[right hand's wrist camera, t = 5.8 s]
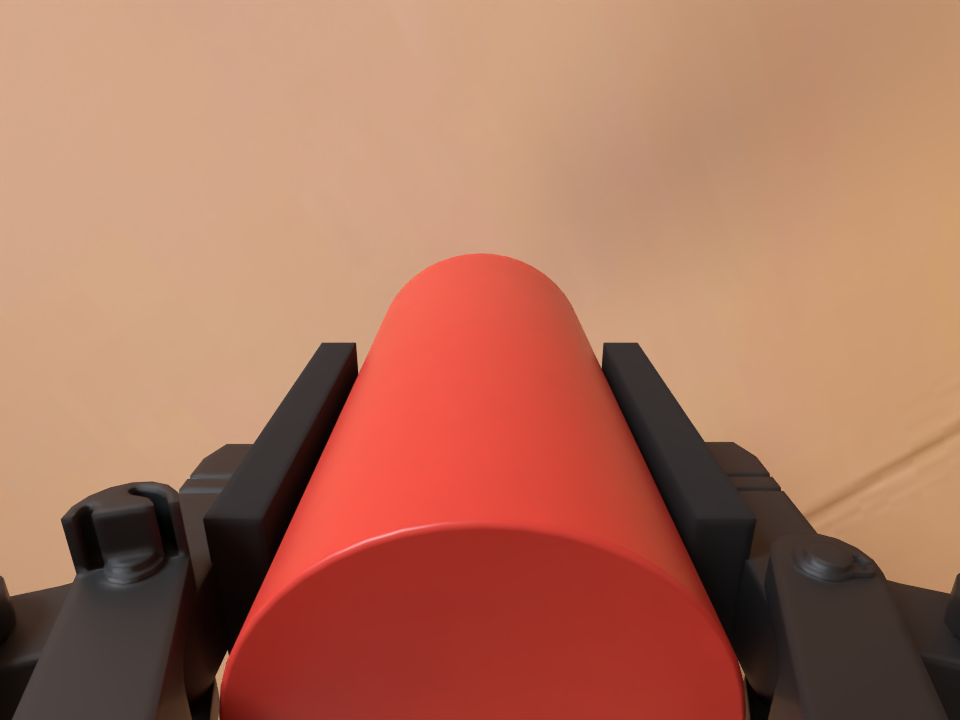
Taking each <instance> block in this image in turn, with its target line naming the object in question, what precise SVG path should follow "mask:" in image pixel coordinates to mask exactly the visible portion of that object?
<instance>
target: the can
mask: <svg viewBox="0 0 960 720" xmlns="http://www.w3.org/2000/svg"><path fill="white" fill-rule="evenodd" d="M219 718H220V720H745V718H746V702H745V688H744V682H743V678H742V674H741V670H740V666H739V662H738V659H737V657H736V654H735V652H734V650H733V648H732V646H731V644H730V642H729V639H728V637H727V635H726V633H725V631H724V629H723V627H722V624H721V622H720V620H719V618H718V616H717V614H716V612H715V610H714V607H713V605H712V603H711V601H710V599H709V597H708V595H707V593H706V590H705V588H704V586H703V584H702V582H701V580H700V578H699V575H698V573H697V571H696V569H695V567H694V565H693V563H692V561H691V558H690V556H689V554H688V552H687V550H686V548H685V546H684V544H683V541H682V539H681V537H680V535H679V533H678V531H677V529H676V527H675V524H674V522H673V520H672V518H671V516H670V514H669V512H668V509H667V507H666V505H665V503H664V501H663V499H662V497H661V495H660V492H659V490H658V488H657V486H656V484H655V482H654V480H653V478H652V475H651V473H650V471H649V469H648V467H647V465H646V463H645V461H644V458H643V456H642V454H641V452H640V450H639V448H638V446H637V443H636V441H635V439H634V437H633V435H632V433H631V431H630V429H629V426H628V424H627V422H626V420H625V418H624V416H623V414H622V412H621V409H620V407H619V405H618V403H617V401H616V399H615V397H614V395H613V392H612V390H611V388H610V386H609V384H608V382H607V380H606V377H605V375H604V373H603V371H602V369H601V367H600V365H599V363H598V360H597V358H596V356H595V354H594V352H593V350H592V348H591V346H590V343H589V341H588V339H587V337H586V335H585V333H584V331H583V328H582V326H581V324H580V322H579V320H578V318H577V316H576V314H575V311H574V309H573V307H572V305H571V304H570V302H569V300H568V299H567V297H566V296H565V294H564V293H563V292H562V291H561V290H560V288H559V287H558V286H557V285H556V284H555V283H554V282H553V281H552V280H550V279H549V278H548V277H547V276H546V275H545V274H543V273H542V272H540V271H539V270H537V269H535V268H534V267H532V266H530V265H528V264H526V263H524V262H522V261H519V260H516V259H513V258H509V257H505V256H500V255H495V254H468V255H462V256H457V257H452V258H450V259H447V260H444V261H441V262H438V263H436V264H434V265H432V266H430V267H428V268H426V269H425V270H424V271H422V272H421V273H419V274H418V275H416V276H415V277H414V278H413V279H412V280H410V281H409V282H408V283H407V284H406V285H405V286H404V287H403V289H402V290H401V291H400V292H399V293H398V294H397V296H396V297H395V299H394V301H393V302H392V304H391V305H390V307H389V309H388V312H387V314H386V316H385V318H384V320H383V322H382V325H381V327H380V329H379V331H378V333H377V335H376V338H375V340H374V342H373V344H372V346H371V349H370V351H369V353H368V355H367V357H366V359H365V362H364V364H363V366H362V368H361V370H360V372H359V375H358V377H357V379H356V381H355V383H354V385H353V388H352V390H351V392H350V394H349V396H348V399H347V401H346V403H345V405H344V407H343V409H342V412H341V414H340V416H339V418H338V420H337V422H336V425H335V427H334V429H333V431H332V433H331V436H330V438H329V440H328V442H327V444H326V446H325V449H324V451H323V453H322V455H321V457H320V459H319V462H318V464H317V466H316V468H315V470H314V472H313V475H312V477H311V479H310V481H309V483H308V486H307V488H306V490H305V492H304V494H303V496H302V499H301V501H300V503H299V505H298V507H297V509H296V512H295V514H294V516H293V518H292V520H291V522H290V525H289V527H288V529H287V531H286V533H285V536H284V538H283V540H282V542H281V544H280V546H279V549H278V551H277V553H276V555H275V557H274V559H273V562H272V564H271V566H270V568H269V570H268V572H267V575H266V577H265V579H264V581H263V583H262V586H261V588H260V590H259V592H258V594H257V596H256V599H255V601H254V603H253V605H252V607H251V609H250V612H249V614H248V616H247V618H246V620H245V623H244V625H243V627H242V629H241V631H240V633H239V636H238V638H237V640H236V642H235V644H234V647H233V649H232V651H231V653H230V656H229V658H228V660H227V663H226V667H225V671H224V675H223V679H222V683H221V689H220V707H219Z"/></svg>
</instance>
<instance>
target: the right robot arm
mask: <svg viewBox="0 0 960 720" xmlns="http://www.w3.org/2000/svg"><path fill="white" fill-rule="evenodd" d="M602 371H603V373H604V375H605V377H606V380H607V382H608V384H609V386H610V388H611V390H612V392H613V395H614V397H615V399H616V401H617V403H618V405H619V407H620V409H621V412H622V414H623V416H624V418H625V420H626V422H627V424H628V426H629V429H630V431H631V433H632V435H633V437H634V439H635V441H636V443H637V446H638V448H639V450H640V452H641V454H642V456H643V458H644V461H645V463H646V465H647V467H648V469H649V471H650V473H651V475H652V478H653V480H654V482H655V484H656V486H657V488H658V490H659V492H660V495H661V497H662V499H663V501H664V503H665V505H666V507H667V509H668V512H669V514H670V516H671V518H672V520H673V522H674V524H675V527H676V529H677V531H678V533H679V535H680V537H681V539H682V541H683V544H684V546H685V548H686V550H687V552H688V554H689V556H690V558H691V561H692V563H693V565H694V567H695V569H696V571H697V573H698V575H699V578H700V580H701V582H702V584H703V586H704V588H705V590H706V593H707V595H708V597H709V599H710V601H711V603H712V605H713V607H714V610H715V612H716V614H717V616H718V618H719V620H720V622H721V624H722V627H723V629H724V631H725V633H726V635H727V637H728V639H729V642H730V644H731V646H732V648H733V650H734V652H735V654H736V656H737V658H738V661H739V663H740V665H741V667H742V669H743V671H744V673H745V678H744V688H745V702H746V718H745V720H960V573H959V574H958V575H957V577H956V580H955V583H954V585H953V588H952V591H951V594H948V593H943V592H939V591H934V590H929V589H924V588H919V587H914V586H910V585H905V584H900V583H896V582H893V581H889V580H886V578H885V576H884V574H883V572H882V571H881V570H880V568H879V567H878V565H877V564H876V563H875V561H874V560H873V559H871V558H870V557H869V556H867V555H866V554H865V553H863V552H862V551H860V550H859V549H858V548H856V547H854V546H852V545H849V544H847V543H845V542H843V541H841V540H839V539H836V538H832V537H828V536H824V535H821V534H817V532H816V531H815V530H814V529H813V527H812V526H811V525H810V524H809V522H808V521H807V520H806V519H805V517H804V516H803V515H802V514H801V512H800V511H799V510H798V509H797V507H796V506H795V505H794V504H793V502H792V501H791V500H790V499H789V497H788V496H787V495H786V493H785V492H784V491H781V487H780V486H779V485H778V483H777V482H776V481H775V480H774V478H773V477H770V473H769V472H768V471H767V470H766V468H765V467H764V466H763V465H762V463H761V462H760V461H759V460H758V458H757V457H756V456H754V455H753V454H751V453H750V452H748V451H746V450H745V449H743V448H742V447H740V446H738V445H737V444H735V443H734V442H704V440H703V439H702V437H701V436H700V434H699V433H698V431H697V430H696V428H695V427H694V425H693V424H692V423H691V421H690V420H689V418H688V417H687V415H686V414H685V412H684V411H683V409H682V408H681V406H680V405H679V403H678V402H677V400H676V399H675V397H674V396H673V394H672V393H671V391H670V390H669V389H668V387H667V386H666V384H665V383H664V381H663V380H662V378H661V377H660V375H659V374H658V372H657V371H656V369H655V368H654V366H653V365H652V363H651V362H650V360H649V359H648V358H647V356H646V355H645V353H644V352H643V350H642V349H641V347H640V346H639V344H638V343H604V345H603V358H602ZM357 377H358V363H357V350H356V343H322V344H321V345H320V347H319V348H318V350H317V351H316V352H315V354H314V355H313V357H312V358H311V360H310V361H309V363H308V364H307V366H306V367H305V369H304V370H303V372H302V373H301V375H300V376H299V378H298V379H297V381H296V382H295V383H294V385H293V386H292V388H291V389H290V391H289V392H288V394H287V395H286V397H285V398H284V400H283V401H282V403H281V404H280V406H279V407H278V409H277V410H276V412H275V413H274V414H273V416H272V417H271V419H270V420H269V422H268V423H267V425H266V426H265V428H264V429H263V431H262V432H261V434H260V435H259V437H258V438H257V440H256V441H255V443H254V444H226V445H225V446H223V447H221V448H220V449H218V450H217V451H215V452H214V453H212V454H210V455H209V456H207V457H206V458H204V459H203V460H202V462H201V463H200V464H199V465H198V467H197V468H196V469H195V470H194V472H193V473H192V474H191V476H190V479H187V481H186V482H185V483H184V484H183V486H182V487H181V488H180V489H179V493H178V492H177V491H176V490H174V489H173V488H172V487H170V486H169V485H166V484H161V483H157V482H134V483H128V484H124V485H119V486H115V487H110V488H108V489H105V490H103V491H100V492H98V493H95V494H93V495H90V496H88V497H87V498H85V499H84V500H82V501H80V502H79V503H77V504H76V505H74V506H73V507H71V508H70V510H69V511H68V512H67V513H66V514H65V515H64V516H63V517H62V519H61V522H62V525H63V529H64V532H65V536H66V539H67V543H68V546H69V549H70V553H71V556H72V560H73V563H74V567H75V570H76V574H77V575H76V577H75V579H74V581H73V583H70V584H66V585H63V586H59V587H54V588H49V589H44V590H40V591H35V592H30V593H25V594H20V595H15V596H11V597H10V596H9V593H8V590H7V587H6V584H5V581H4V578H3V577H1V576H0V720H218V716H219V707H220V700H219V693H218V687H217V682H216V678H215V676H216V674H217V671H218V669H219V667H220V665H221V663H222V661H223V659H224V656H225V654H226V652H227V650H228V653H229V656H230V653H231V651H232V649H233V647H234V644H235V642H236V640H237V638H238V636H239V633H240V631H241V629H242V627H243V625H244V623H245V620H246V618H247V616H248V614H249V612H250V609H251V607H252V605H253V603H254V601H255V599H256V596H257V594H258V592H259V590H260V588H261V586H262V583H263V581H264V579H265V577H266V575H267V572H268V570H269V568H270V566H271V564H272V562H273V559H274V557H275V555H276V553H277V551H278V549H279V546H280V544H281V542H282V540H283V538H284V536H285V533H286V531H287V529H288V527H289V525H290V522H291V520H292V518H293V516H294V514H295V512H296V509H297V507H298V505H299V503H300V501H301V499H302V496H303V494H304V492H305V490H306V488H307V486H308V483H309V481H310V479H311V477H312V475H313V472H314V470H315V468H316V466H317V464H318V462H319V459H320V457H321V455H322V453H323V451H324V449H325V446H326V444H327V442H328V440H329V438H330V436H331V433H332V431H333V429H334V427H335V425H336V422H337V420H338V418H339V416H340V414H341V412H342V409H343V407H344V405H345V403H346V401H347V399H348V396H349V394H350V392H351V390H352V388H353V385H354V383H355V381H356V379H357Z"/></svg>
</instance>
